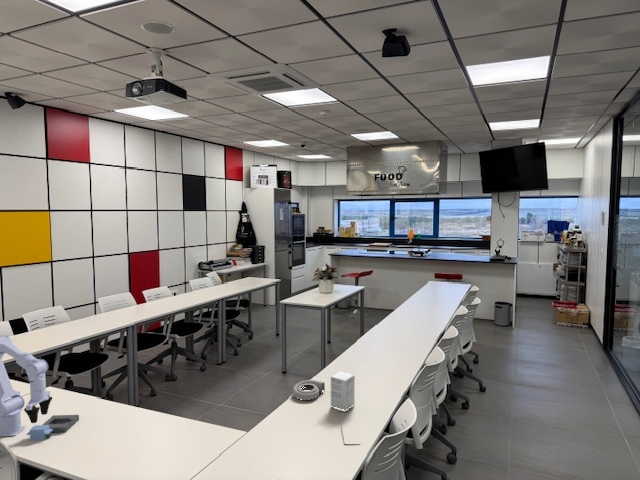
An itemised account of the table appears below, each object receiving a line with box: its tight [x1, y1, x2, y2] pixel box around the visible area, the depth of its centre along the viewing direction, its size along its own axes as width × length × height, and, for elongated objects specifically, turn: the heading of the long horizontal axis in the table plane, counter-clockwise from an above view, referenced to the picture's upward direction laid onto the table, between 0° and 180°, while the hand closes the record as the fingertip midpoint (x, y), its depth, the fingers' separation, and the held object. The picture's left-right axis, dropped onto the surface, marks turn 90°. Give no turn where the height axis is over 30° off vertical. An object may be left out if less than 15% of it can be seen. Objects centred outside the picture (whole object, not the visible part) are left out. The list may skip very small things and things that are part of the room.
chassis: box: [42, 414, 80, 434], centre depth 196 cm, size 12×12×2 cm
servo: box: [26, 424, 53, 442], centre depth 186 cm, size 9×4×5 cm, turn 94°
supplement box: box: [330, 371, 355, 410], centre depth 216 cm, size 10×9×17 cm
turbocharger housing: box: [292, 379, 326, 401], centre depth 231 cm, size 17×6×15 cm
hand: (39, 418), depth 185 cm, fingers open, 7 cm apart
